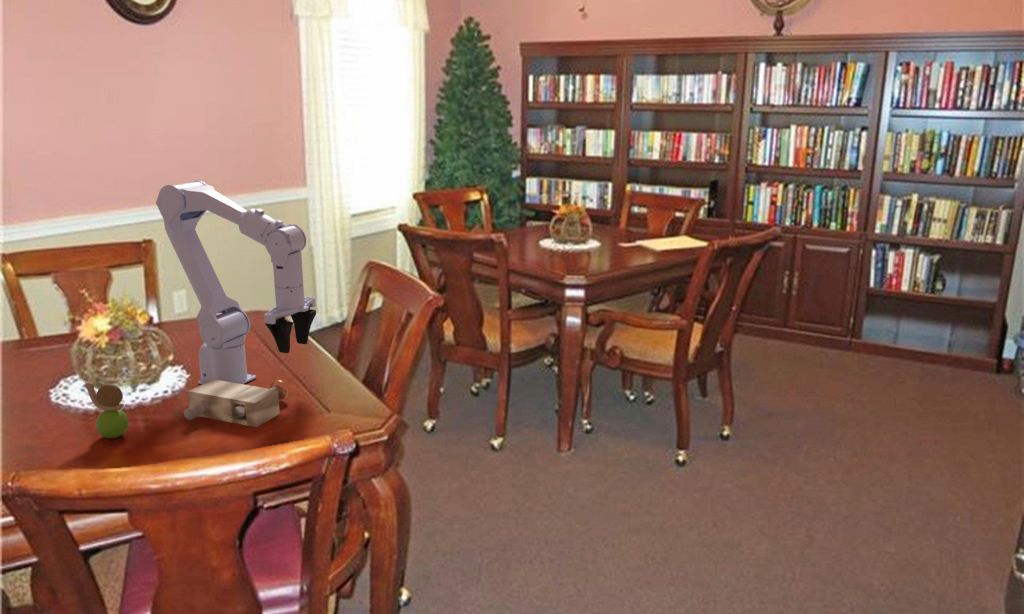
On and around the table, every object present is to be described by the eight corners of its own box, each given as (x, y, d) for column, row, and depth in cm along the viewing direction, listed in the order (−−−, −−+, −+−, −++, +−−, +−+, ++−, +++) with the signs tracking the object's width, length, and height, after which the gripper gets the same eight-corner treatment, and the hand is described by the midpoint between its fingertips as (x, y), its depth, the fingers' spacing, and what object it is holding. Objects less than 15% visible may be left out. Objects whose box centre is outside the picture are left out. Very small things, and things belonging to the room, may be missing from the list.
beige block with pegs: (173, 423, 150) (170, 399, 148) (218, 400, 161) (216, 377, 160) (240, 436, 144) (238, 411, 143) (282, 411, 155) (281, 388, 154)
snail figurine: (99, 431, 146) (90, 371, 143) (135, 430, 147) (127, 370, 143) (86, 443, 141) (77, 381, 138) (123, 442, 141) (115, 381, 138)
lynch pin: (231, 420, 150) (229, 400, 149) (273, 396, 162) (272, 378, 161) (247, 423, 149) (246, 403, 148) (289, 399, 161) (288, 381, 159)
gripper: (283, 295, 152) (288, 360, 155) (325, 279, 165) (329, 340, 168) (253, 291, 154) (259, 356, 158) (297, 276, 167) (301, 336, 171)
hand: (293, 347), depth 163 cm, fingers open, 6 cm apart
